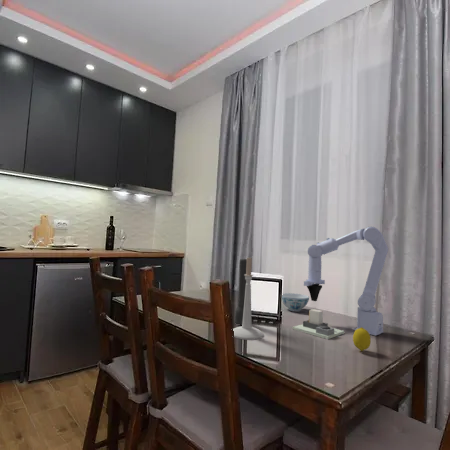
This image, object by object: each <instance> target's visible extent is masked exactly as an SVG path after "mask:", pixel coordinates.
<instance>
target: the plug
mask: <svg viewBox="0 0 450 450" xmlns="http://www.w3.org/2000/svg"><path fill="white" fill-rule="evenodd" d="M308 320H309V323H313V324H317V325H321V324H323V323H324V321H323V320H324V311H323V310H319V309H314V308H313V309H309V311H308Z"/></svg>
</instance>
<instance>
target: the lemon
mask: <svg viewBox="0 0 450 450" xmlns="http://www.w3.org/2000/svg"><path fill="white" fill-rule="evenodd" d="M371 341H372V339H371V334H369V333H368V331H367V330H365V329H364V328H362V327H361V328H359V329H357V330H354V332H353V335H352V342H353V344H354V346H355V348H357V349H358V350H359V351H360V352H364V351H365V350H368V349H369V348H370V346H371Z"/></svg>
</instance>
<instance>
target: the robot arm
mask: <svg viewBox="0 0 450 450" xmlns="http://www.w3.org/2000/svg"><path fill="white" fill-rule="evenodd" d="M358 240H360V241H364V240H365V241H367V242H368V243H369V244H370V245H371V246H372V248H373V250H374V255H373V257H372V258H373V259H372V261H371V265H370V269H369V272H368V275H367V278H366V283H365V286H364V288H363V290H362V293H361V294H360V296H359V297H358V299H357V305H358V307H357V322H356V323H357V324H356V325H357V326H356V328H353V329H352V330H353V331H355V330H357V329H359V328H361V327H362V328H364V329H365V330H367V331H368V333H369V334H370V336H371V335H372V336H378V335H381V334H383V333H384V316H383V313H382V312H380V311H379V312H378V311H377V308H375V305H376V303H377V299H376V293H377V289H378V286H379V282H380V279H381V275H382V272H383V270H384V269H383V268H384V266H385V262H386V259H387V255H388V252H389V246H388V245H387V241H386V240H385V237H384V234H383V233H382V232H381V231H380V230H379V229H378V228H377V227H375V226H368V227H366V228H361V229H357V230H354V231H352V232H349V233H347V234H345V235H343V236H340V237H339V238H333V237H331V238H330V237H327V238H326V240H323V241H321V242H316V244H311V245H310V246H309V247H308V248H307V254H308V271H307V274H308V276H307V278H308V279H306V280H305V281H303V286H304V287H305V286H306V288H307V291H308V293H309V297H310V299H311V300H310V301H313V302H318V298H319V295H320V292H321V290H322V288H323V285H325V284H326V281H325V279H322V256H323V255H327V254H330V253H332V252H335V251H337V250H338V248H339V247H340V246H342V245H345V244H348V243H350V242H353V241H358Z"/></svg>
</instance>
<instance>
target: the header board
mask: <svg viewBox="0 0 450 450" xmlns="http://www.w3.org/2000/svg"><path fill="white" fill-rule="evenodd" d="M292 330H295V331H297V332H302V333H305V334H308V335H312V336H315V337H318V338H322V339H325V340H330V339H332V338H335V337H338V336H341V335H344V334H345V330H342V329H338V328H333V327H330V326H329V323H327V322H323V324H321V325H317V324H313V323H309V319H308V320H303V321H302V324H298V325H294V326H292Z"/></svg>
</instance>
